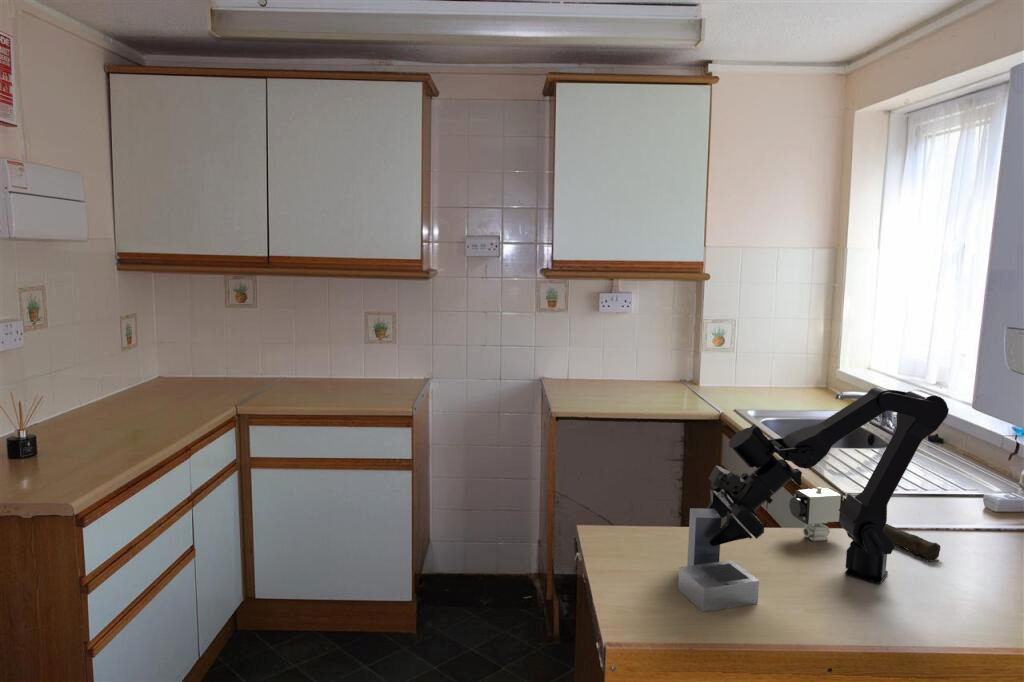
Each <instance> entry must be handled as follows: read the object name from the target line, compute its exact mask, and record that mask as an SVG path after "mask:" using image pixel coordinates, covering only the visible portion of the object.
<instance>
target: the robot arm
mask: <svg viewBox="0 0 1024 682" xmlns="http://www.w3.org/2000/svg"><path fill="white" fill-rule="evenodd" d="M949 408H950V407H948V403H947V402H946V401H945V399H944V398H943V397H941V396H938V395H935V394H934V393H930V392H928V391H926V390H922V389H912V390H910V391H903V390H902V391H901V390H898V389H897V390H896V389H887V388H883V387H880V386H876V387H873V388H871V389H870V390H868V392H867V393H865V394H864V395H862V396H860V397H859V398H858V399H856V400H854V401H853V402H851V403H850V404H848V405H847V406H845V407H843V408H841V409H840V410H839V411H837V412H835V413H833V414H832V415H831V416H829V417H827V418H826V419H825V420H823V421H822V422H819V423H816V424H815V425H810V426H807V427H802V428H800V429H798V430H795V431H793V432H790V433H788V434H786V435H785V436H784V437H778V438H769V439H768V437H767V436H766V435H765V434H764V433H763V430H762V429H761V428H760V427H759V426H758V425H756V424H755V423H754V424H752V425H751V426H750V427H746V428H744V429H742V430H740V431H737V432H736V433H735V434H733V436H732V437H731V438H730V440H729V442H728V447H729V448H730V450H731V451H732V452H733V453H734V454H736V456H737V457H738V458H739V459H740V460H741V461H742V462H743V463H744V465H746V466H747V467H748V468H754V467H755V470H753V471H752V472H751V473H749V474H748V473H747V472H743V473H742V474H741V475H739V474H738V473H737V474H735V473H734V472H733V471H730V470H727V469H725V468H724V467H721V466H719V465H715V466H714V468H713V470H712V471H711V473H710V475H709V477H708V480H709V481H711V484H710V487H711V488H712V489H711V488H710V489H709V492H710V501H709V504H708V505H707V507H706V508H705V509H715V510H716V511H717V513H718V514H719V515H720V517H721V519H723V518H726V521H725V523H724V524H723V525H721V528H720V529H719V530H718V532H717V533H716V534H715V535H714V536H713V537H712V538H711V540H710V541H709V543H710V544H711V545H712V546H716V545H720V546H721V545H722V544H726V543H731V542H736V541H739V540H744V539H750V540H751V539H753V537H754V538H755V539H756V540H757V539H759V537H761V536H762V535H763V534H764V533H765V525H764V524H763V523H762V522H761V520H760V519H759V518H758V517H757V516H758V513H757V512H756V511H757V509H759V508H761V506H762V505H763V504H765V503H768V504H769V505H770V504H771V503H772V502H773V501H774V500H773V499H772V498H771V497H773V496H774V495H775V494H776V493H777V492H778V491H779V490H781V489H782V488H783V487H784V486H785V485H786V484H787V483H788V482H789V481H790V480H791V481H792V482H793V483H795V484H796V485H797V486H802V474H803V472H802V471H801V470H800V469H805V470H807V469H808V470H809V469H811V468H813V467H815V466H816V465H817V464H818V463H820V462H821V461H822V460H823V459H824V458H825V457H826V456H828V454H829V452H830V451H831V449H832V447H833V446H834V445H836V443H838V442H839V441H840V440H841V441H842V440H843V439H844V438H845V437H847V436H849V435H850V434H852V433H854V432H855V431H857V430H858V429H860V428H862V427H863V426H865V425H866V424H867V423H869V422H871V421H873V420H874V419H876V418H878V417H879V416H880V415H882V414H884V413H885V412H892V413H896V428H895V430H894V432H893V434H892V437H891V438H890V440H889V442H888V443H887V446H886V447H885V450H884V451H883V453H882V455H881V457H880V459H879V461H878V462H877V464H876V466H875V468H874V469H873V471H872V473H871V476H870V478H869V479H868V481H867V483H866V485H865V487H864V488H863V490H862V491H861V492H859V493H858V494H857V495H856V496H853V495H852V494H851V493H848V494H847V496H846V497H845V499H846V500H845V502H844V504H843V506H842V507H841V508H840V509H839V511H840V512H841V513H840V516H839V523H840V526H841V528H842V529H843V530H844V531H845V532H846V535H847V537H848V538H850V539H851V540H852V541H851V542H849V543H850V544H849V546H848V548H847V549H846V558H845V569H846V571H845V573H844V574H845V575H846V576H849V577H853V578H857V579H858V580H859V579H860V580H864V581H867V582H871V583H874V584H876V585H881V584H882V582H883V581H884V580H885V578H886V577H887V576H888V573H889V571H888V570H887V561H888V555H891V554H892V553H893V551H894V549H895V545H896V544H895V543H893V542H892V541H891V540H890V539H889V538H888V537H887V536H886V535H885V534H884V533H883V531H884V528H885V525H886V524H887V522H888V504H889V502H890V500H891V498H892V497H893V494H894V493H895V491H896V489H897V488H898V485H899V484H900V482H901V480H902V478H903V477H904V474H905V472H906V471H907V469H908V467H909V465H910V463H911V461H912V460H913V459H914V456H915V454H916V453H917V450H918V449H919V446H920V445H921V443H922V442H923V441H924V439H926V438H928V437H929V436H931V435H932V434H933V433H935V432H936V431H937V430H938V429H939V428H940V426H941V425H942V424H943V422H944V421H945V420H946V418H948V414H949V410H950V409H949ZM774 454H776V455H777V456H779V457H780V458H781V459H777V458H776V457H775V455H774ZM788 462H791V463H792V464H794V466H796V467H798V468H793V467H792V466H791V464H789V463H788ZM799 468H800V469H799Z"/></svg>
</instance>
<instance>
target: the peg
mask: <svg viewBox="0 0 1024 682" xmlns="http://www.w3.org/2000/svg"><path fill="white" fill-rule="evenodd" d="M688 523H689V524H688V526H689V527H688V541H687V542H688V543H687V563H686V564H687V565H686V566H690V565H698V564H706V563H713V562H720V555H721V554H720V553H721V544H720V545H716V546H712V545H711V544H710V543H709V541H710V540H711V538H712V537H713V536H714V535H715V534H716V533H717V532H718V530H719V529H720V528H721V527H722V518H721V517H720V515H719V514H718V513H717V511H716V510H715V509H706V508H703V507H702V508H700V507H699V508H695V507H694V508H691V507H690V508H689V522H688Z"/></svg>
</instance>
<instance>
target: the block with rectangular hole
mask: <svg viewBox="0 0 1024 682" xmlns="http://www.w3.org/2000/svg"><path fill="white" fill-rule="evenodd" d="M677 580H678V585H677V590H678V589H679V590H680V591H679V592H680V593H682V594H683V595H684V597H686V598H687V599H688V600H689V601H690V602H691V603H692V604H694V606H696V607H697V608H698V610H700V611H701V612H702V613H704V612H713V611H718V610H725V609H732V608H738V607H745V606H752V605H758V604H759V603H758V601H759V590H760V589H759V588H760V587H759V586H760V580H759V579H758V578H756V577H755V576H754V575H752V574H751V573H749V572H748V571H747V570H746V569H744V568H743V567H742V566H740V565H738V564H737V563H736V562H735V561H733V560H731V559H729V560H722V561H719V562H713V563H706V564H698V565H690V566H687V565H685V566H684V565H683V566H679V567H678V579H677Z"/></svg>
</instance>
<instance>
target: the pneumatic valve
mask: <svg viewBox="0 0 1024 682" xmlns="http://www.w3.org/2000/svg"><path fill="white" fill-rule="evenodd" d="M845 500H846V497H845V496H844V494H843V493H840V492H839V491H837V490H835V489H833V488H831V487H828V488H827V487H823V488H822V487H821V486H819V487H816V488H815V487H814V488H807V489H795V490H794V494H793V497H791V498H790V500H789V503H788V504H789V511H790V513H791V515H792V516H793V517H794V518H795V519H797V520H799V521H801V522H802V523H803V524H804V526H805V527H803V530H802V532H803V535H804V537H805V538H808V539H810V540H811V542H814V543H815V542H824V541H826V542H827V540H828V537H829V535H830V534H831V530H830V528H829V526H828V525H826V524H827V523H835V522H836V523H837V522H839V523H840V521H839V516H840V513H841V512H840V511H839V509H840V508H841V507H842V506H843V504H844V502H845Z"/></svg>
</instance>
